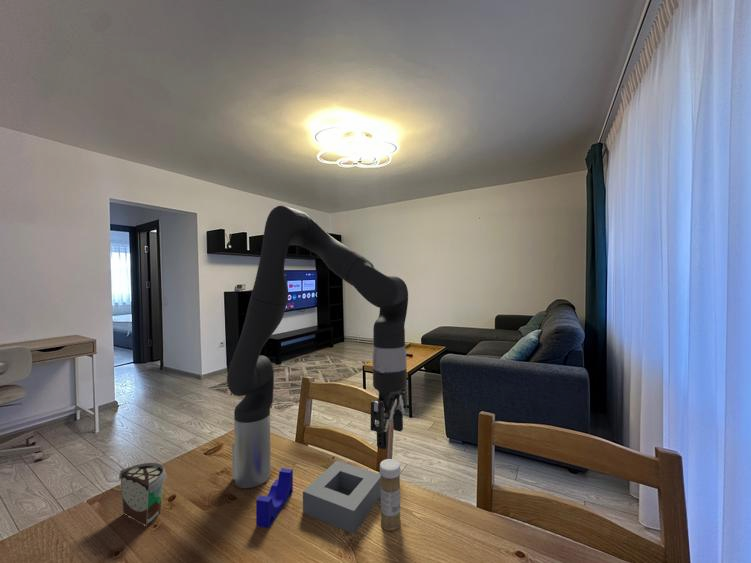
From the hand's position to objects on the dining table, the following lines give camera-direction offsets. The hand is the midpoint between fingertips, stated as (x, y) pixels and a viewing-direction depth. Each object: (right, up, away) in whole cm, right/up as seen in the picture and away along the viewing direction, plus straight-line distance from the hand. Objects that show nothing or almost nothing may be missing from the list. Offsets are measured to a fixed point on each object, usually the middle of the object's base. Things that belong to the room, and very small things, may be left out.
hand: (390, 438), depth 69 cm
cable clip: (-28, -20, +6) cm, 35 cm away
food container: (-57, -20, +5) cm, 61 cm away
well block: (-11, -19, +7) cm, 23 cm away
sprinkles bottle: (0, -19, 0) cm, 19 cm away
